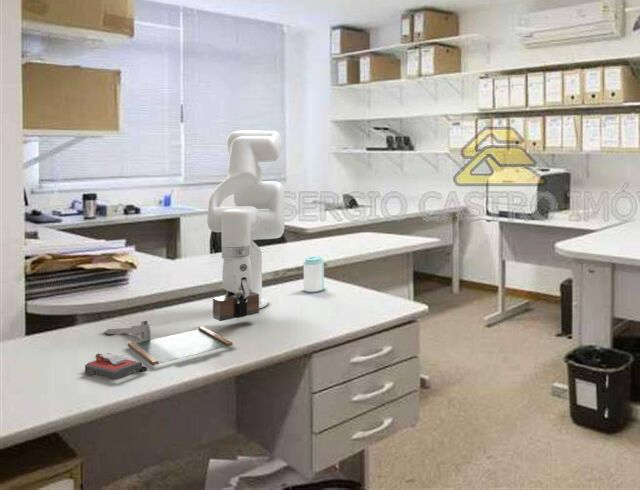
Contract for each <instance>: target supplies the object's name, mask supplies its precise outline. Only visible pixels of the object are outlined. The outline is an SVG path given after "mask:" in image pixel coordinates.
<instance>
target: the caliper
mask: <svg viewBox="0 0 640 490" xmlns="http://www.w3.org/2000/svg"><path fill="white" fill-rule="evenodd" d="M105 333H106V334H107V335H119V334H121V335H122V334H131V336H132V337H137V336H139V339H140V340H142V341H143V340H144V341H148V340H151V328H150V324H149V323H148V320H141V321H140V324H133V325H130V326H125V327H111V328H110V327H109V328H106V330H105V331H104V334H105Z"/></svg>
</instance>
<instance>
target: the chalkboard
mask: <svg viewBox="0 0 640 490" xmlns="http://www.w3.org/2000/svg"><path fill="white" fill-rule="evenodd" d="M127 346H128V347H130V349H132V350H133V351H135V352H136V353H137V354H139V355H140V356H141V357H142V358H144V359H145V360H146V361H147V362H149V363H150V364H151V365H153V366H155V365H159V364H163V363H167V362H170V361H176V360H180V359H182V358H187V357H190V356H194V355H199V354H202V353H206V352H211V351H215V350H218V349H222V348H227V347H231V346H233V342H232V341H230V340H228V339H226V338H225V337H223V336H221V335H219V334H217V333H216V332H214V331H212V330H211V329H209V328H206V327H205V326H198V329H195V330H189V331H185V332H181V333H175V334H171V335H167V336H162V337H158V338H153V339H150V340H148V341H145V340H144V341H139V342H135V341H129V342H127Z"/></svg>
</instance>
